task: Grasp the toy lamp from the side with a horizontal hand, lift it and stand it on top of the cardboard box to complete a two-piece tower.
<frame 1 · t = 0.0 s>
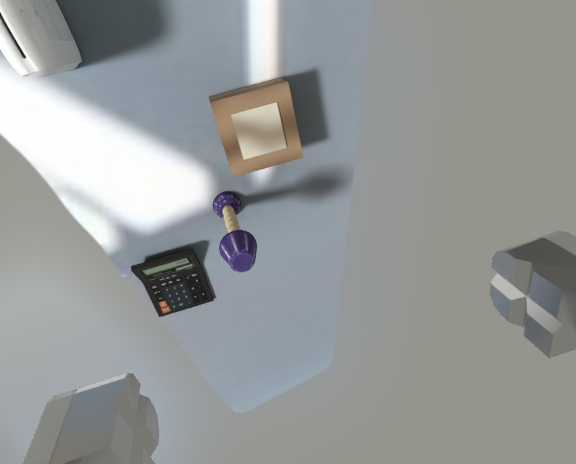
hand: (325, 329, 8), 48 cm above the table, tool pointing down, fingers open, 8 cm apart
photo printer: (48, 22, 43), on the table
cardboard box: (254, 123, 53), on the table
calculator: (175, 278, 62), on the table
toy lamp: (228, 205, 58), on the table
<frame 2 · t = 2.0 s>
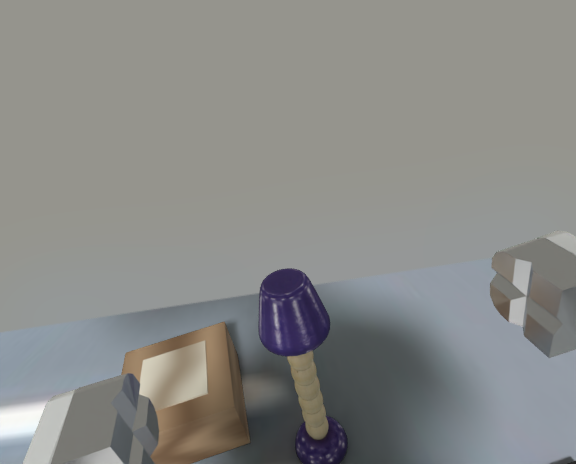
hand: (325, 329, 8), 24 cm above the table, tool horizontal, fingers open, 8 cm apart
cardboard box: (192, 410, 36), on the table
toy lamp: (325, 442, 31), on the table
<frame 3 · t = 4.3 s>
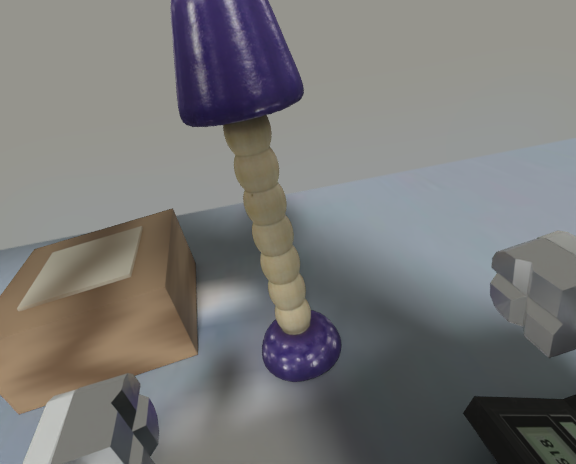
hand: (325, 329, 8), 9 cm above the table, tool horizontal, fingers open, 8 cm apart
cardboard box: (123, 324, 25), on the table
toy lamp: (307, 348, 20), on the table
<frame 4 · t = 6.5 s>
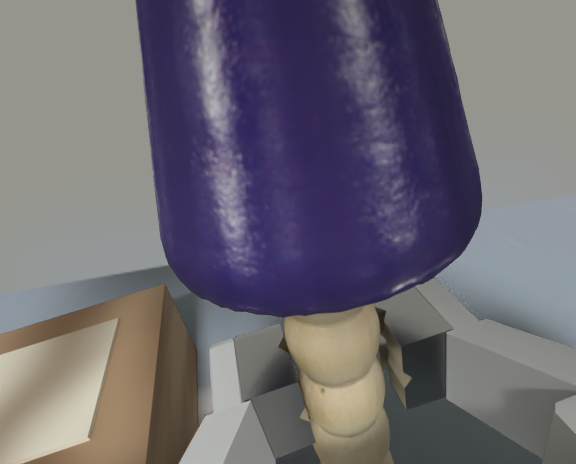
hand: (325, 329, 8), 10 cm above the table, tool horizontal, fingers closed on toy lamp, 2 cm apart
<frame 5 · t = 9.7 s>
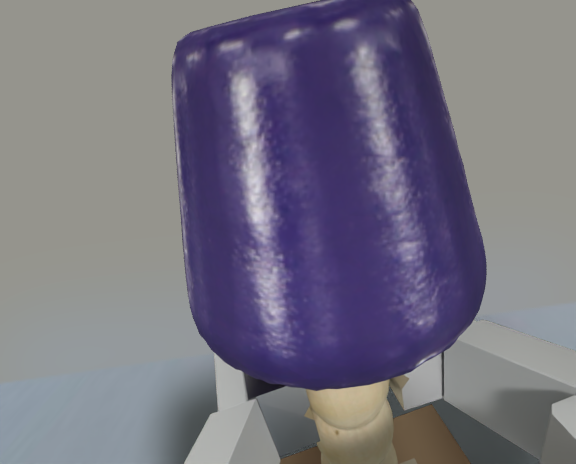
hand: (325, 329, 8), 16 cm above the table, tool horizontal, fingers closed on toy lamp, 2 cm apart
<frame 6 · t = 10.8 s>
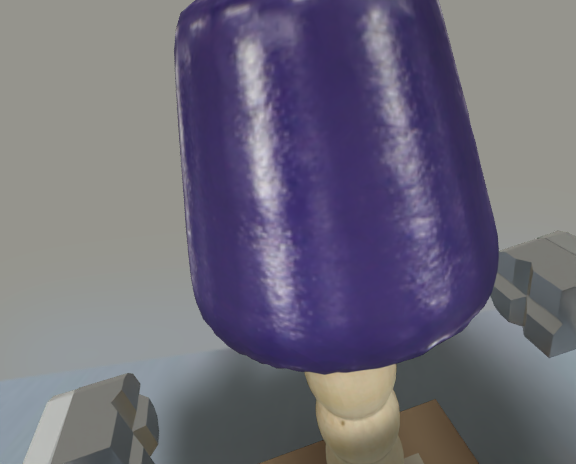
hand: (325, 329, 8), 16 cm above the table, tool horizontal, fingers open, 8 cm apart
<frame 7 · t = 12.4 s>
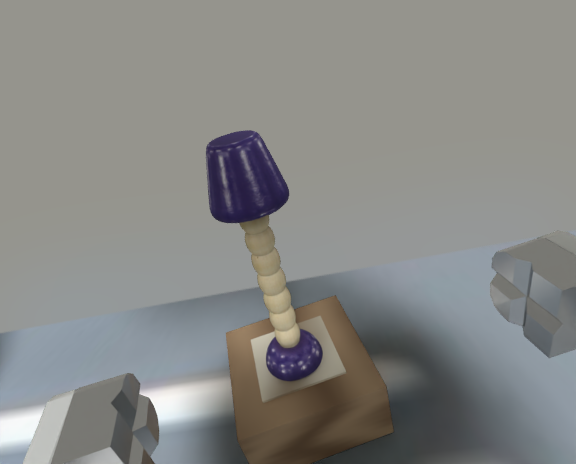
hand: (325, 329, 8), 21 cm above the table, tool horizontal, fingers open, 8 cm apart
cardboard box: (308, 397, 31), on the table
toy lamp: (298, 356, 28), point 5 cm above the table, touching cardboard box
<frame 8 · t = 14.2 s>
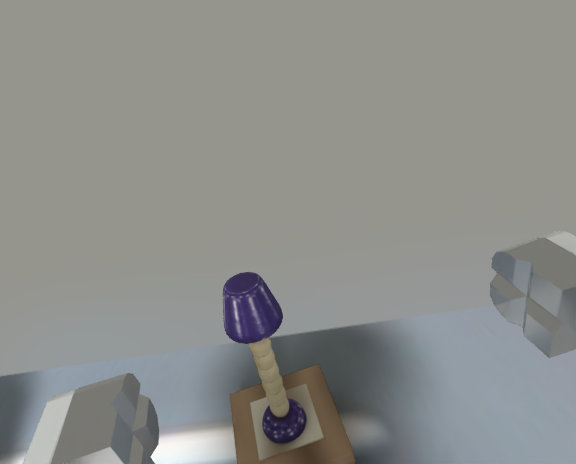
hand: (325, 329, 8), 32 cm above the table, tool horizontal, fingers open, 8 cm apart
cardboard box: (295, 449, 39), on the table
toy lamp: (288, 420, 36), point 5 cm above the table, touching cardboard box
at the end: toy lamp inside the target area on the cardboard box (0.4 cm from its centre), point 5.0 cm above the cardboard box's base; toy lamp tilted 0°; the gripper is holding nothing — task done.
